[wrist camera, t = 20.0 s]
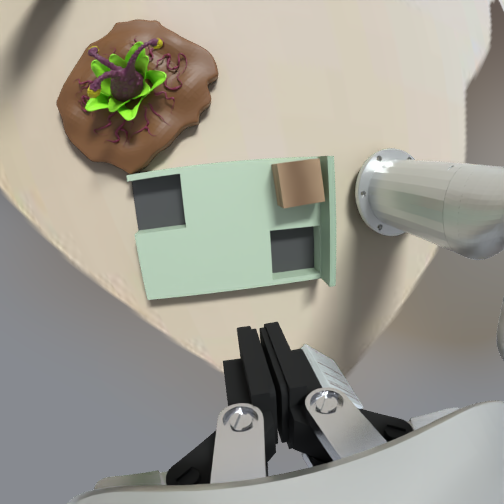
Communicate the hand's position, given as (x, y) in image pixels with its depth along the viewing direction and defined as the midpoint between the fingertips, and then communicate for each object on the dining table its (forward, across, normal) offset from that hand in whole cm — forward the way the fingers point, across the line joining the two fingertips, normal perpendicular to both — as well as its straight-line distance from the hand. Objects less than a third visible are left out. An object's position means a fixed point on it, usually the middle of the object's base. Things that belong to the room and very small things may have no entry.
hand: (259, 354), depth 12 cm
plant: (+28, +10, -19) cm, 35 cm away
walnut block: (+25, -9, -5) cm, 27 cm away
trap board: (+27, -1, 0) cm, 27 cm away
